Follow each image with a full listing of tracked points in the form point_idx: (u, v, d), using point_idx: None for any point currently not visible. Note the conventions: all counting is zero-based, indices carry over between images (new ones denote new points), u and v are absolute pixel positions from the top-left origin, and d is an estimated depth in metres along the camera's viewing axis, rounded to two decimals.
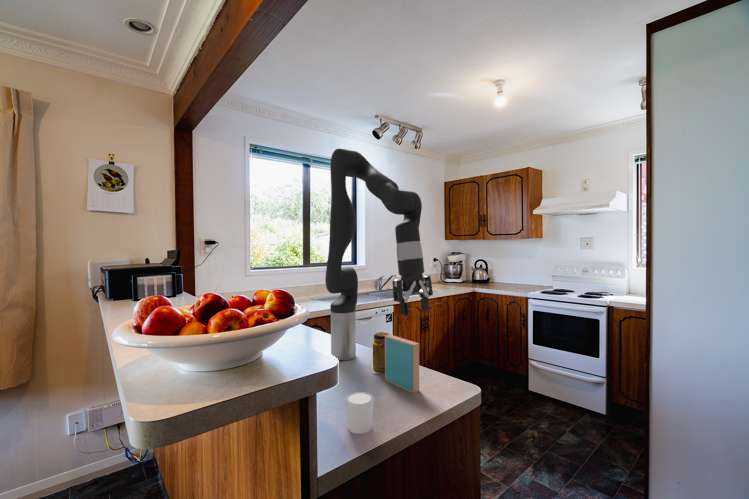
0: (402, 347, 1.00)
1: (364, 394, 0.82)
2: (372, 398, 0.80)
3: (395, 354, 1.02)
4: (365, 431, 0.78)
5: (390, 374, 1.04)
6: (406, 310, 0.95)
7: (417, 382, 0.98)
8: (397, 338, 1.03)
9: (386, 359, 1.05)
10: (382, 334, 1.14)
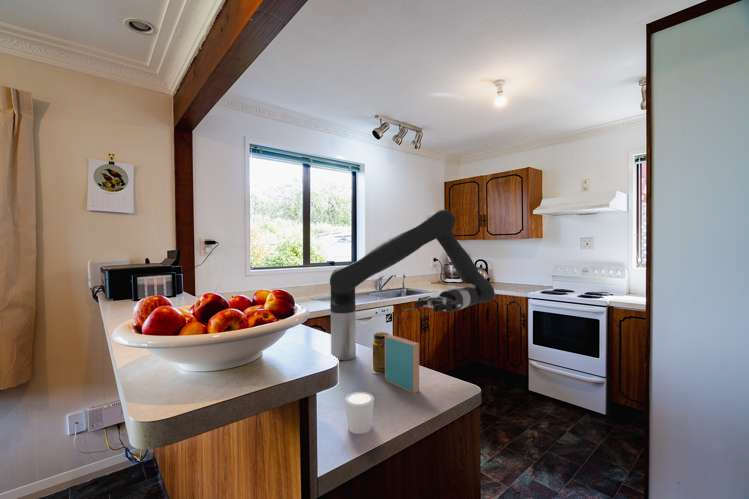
0: (402, 347, 1.00)
1: (364, 394, 0.82)
2: (372, 398, 0.80)
3: (395, 354, 1.02)
4: (365, 431, 0.78)
5: (390, 374, 1.04)
6: (438, 310, 1.06)
7: (417, 382, 0.98)
8: (397, 338, 1.03)
9: (386, 359, 1.05)
10: (382, 334, 1.14)
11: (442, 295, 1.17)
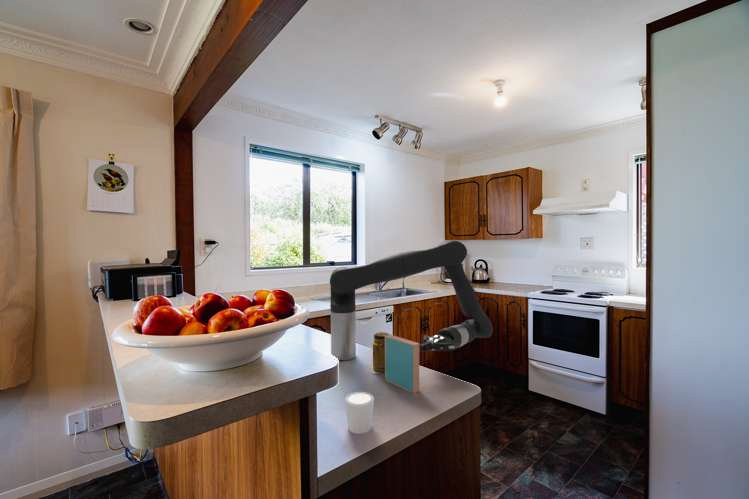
0: (402, 347, 1.00)
1: (364, 394, 0.82)
2: (372, 398, 0.80)
3: (395, 354, 1.02)
4: (365, 431, 0.78)
5: (390, 374, 1.04)
6: (426, 350, 1.09)
7: (417, 382, 0.98)
8: (397, 338, 1.03)
9: (386, 359, 1.05)
10: (382, 334, 1.14)
11: (441, 333, 1.18)
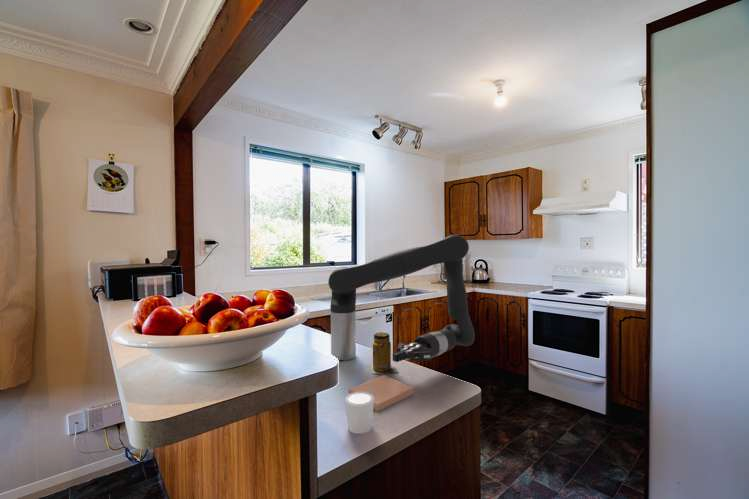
0: None
1: (364, 394, 0.82)
2: (372, 398, 0.80)
3: None
4: (365, 431, 0.78)
5: None
6: None
7: (406, 393, 0.95)
8: None
9: None
10: (382, 334, 1.14)
11: (417, 341, 1.10)
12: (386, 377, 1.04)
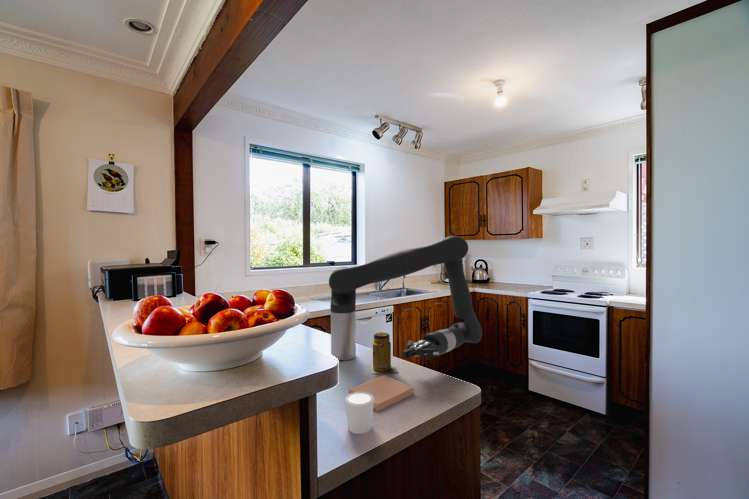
0: None
1: (364, 394, 0.82)
2: (372, 398, 0.80)
3: None
4: (365, 431, 0.78)
5: None
6: (409, 357, 1.03)
7: (407, 393, 0.95)
8: None
9: None
10: (382, 334, 1.14)
11: (426, 338, 1.12)
12: (386, 377, 1.04)
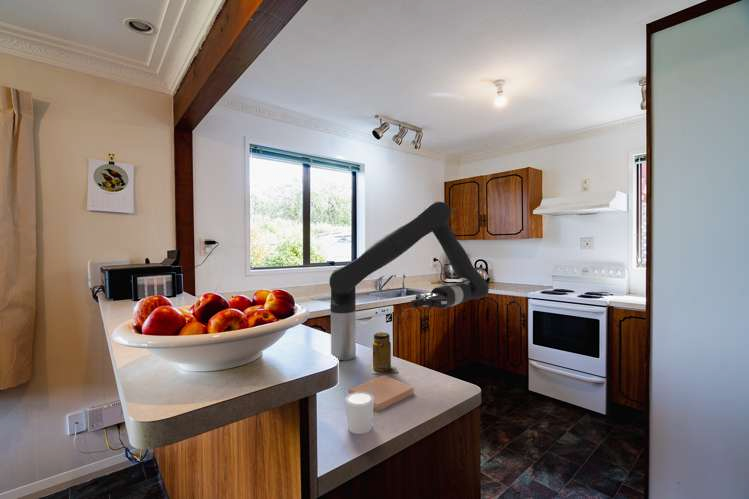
0: None
1: (364, 394, 0.82)
2: (372, 398, 0.80)
3: None
4: (365, 431, 0.78)
5: None
6: (418, 306, 1.06)
7: (407, 393, 0.95)
8: None
9: None
10: (382, 334, 1.14)
11: (434, 291, 1.15)
12: (386, 377, 1.04)
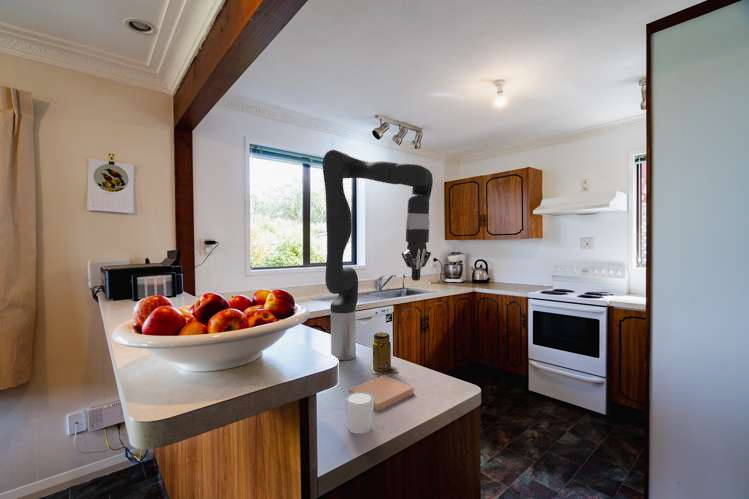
0: None
1: (364, 394, 0.82)
2: (372, 398, 0.80)
3: None
4: (365, 431, 0.78)
5: None
6: (416, 275, 1.11)
7: (407, 393, 0.95)
8: None
9: None
10: (382, 334, 1.14)
11: None
12: (386, 377, 1.04)
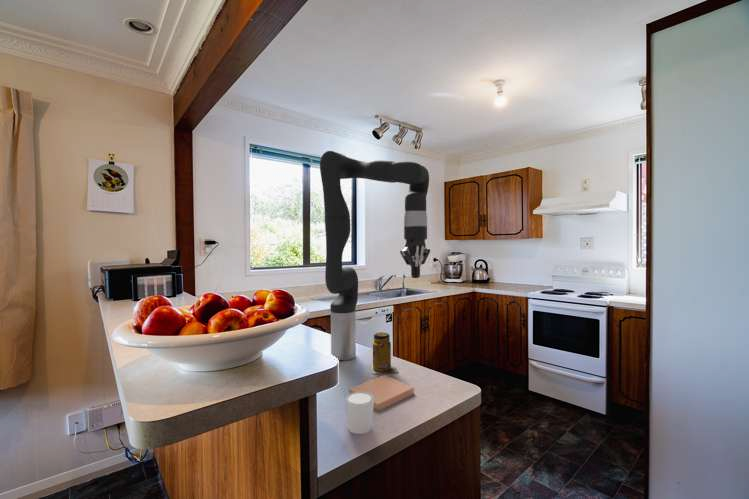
0: None
1: (364, 394, 0.82)
2: (372, 398, 0.80)
3: None
4: (365, 431, 0.78)
5: None
6: (416, 273, 1.11)
7: (407, 393, 0.95)
8: None
9: None
10: (382, 334, 1.14)
11: None
12: (386, 377, 1.04)
